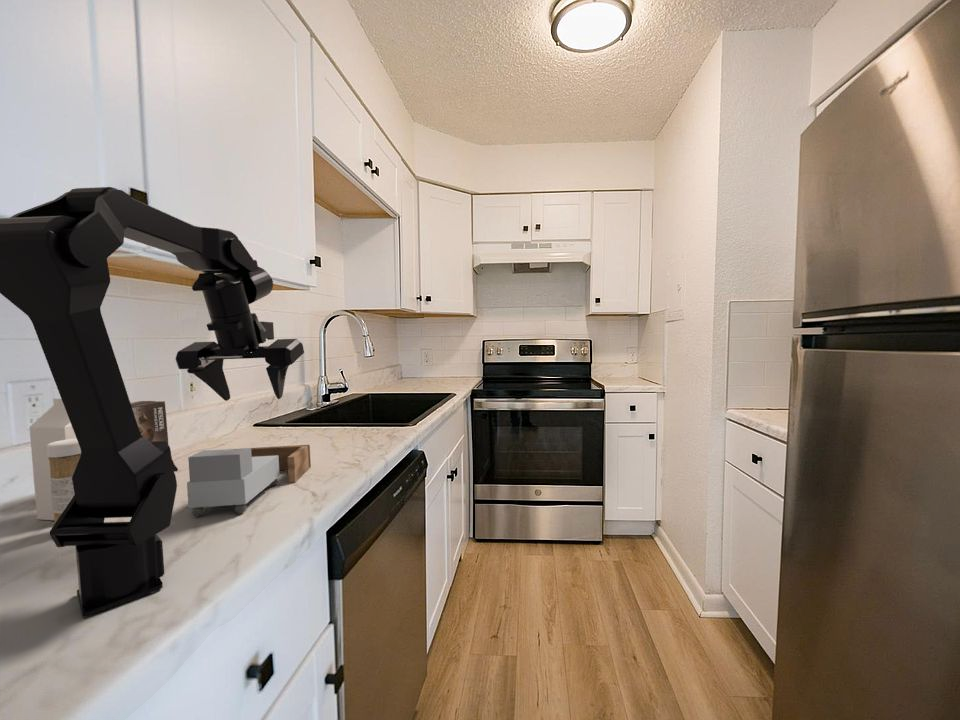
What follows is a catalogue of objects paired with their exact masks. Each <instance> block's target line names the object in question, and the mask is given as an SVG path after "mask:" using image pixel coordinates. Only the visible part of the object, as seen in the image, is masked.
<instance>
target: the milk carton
mask: <svg viewBox="0 0 960 720" xmlns="http://www.w3.org/2000/svg"><path fill="white" fill-rule="evenodd" d="M52 401H53V405H52V406H51V407H50V408H49V409H48V410H46V412H45V413H43V414H42V415H41V416H40V417H39V418H38V419H36V420H35V421H34V422H33V423H32V424H31V425H30V426H29V437H30V448H31V459H32V460H31V461H32V473H33V474H32V475H33V484H34V485H33V486H34V496H35V498H34V499H35V507H36V508H35V510H36V519H37V520H44V521H55V520H54V512H53V505H52V493H51V481H50V477H51V475H50V461H49V459H48V458H49V457H47V445H48V444H49V443H52V442H56V441H61V440H67V439H75V438H76V435H75V433H74V430H73V428H72V425H71V422H70V420H69V417H68V415H67V412H66V409H65V407H64V404H63V402H62V399H61V398H53V399H52Z"/></svg>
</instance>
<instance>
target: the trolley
mask: <svg viewBox="0 0 960 720" xmlns="http://www.w3.org/2000/svg"><path fill="white" fill-rule="evenodd" d="M251 448H252V447H243V448H228V449H227V448H225V449H207V450H201V451H199V452H197V453H195V454H192V455H190V456H188V457H187V458H188V459H187V460H188V472H189V481H188V482H187V483H186V491H187V505H188V507H187V508H188V509H192V510H191V514H192V516H194V517H195V518H199V517H200V516H202V515H203V514H204V513H205V509H204V508H209V507H223V506H235V507H234V512H235V513H236V514H239V515H241V514H243V513H244V512H246V510H247V504H248V503H249V502H250V501H251V500H253V499H254V498H255V497H256V496H257V495H259V494H260V493H261V492H262V491H263V490H265V488H267V487H268V486H273V487H274V486H276V485H277V484H278V482H279V479H278V478H279V477H280V474H281V473H280V471H279V457H278V455H275V456H258V457H252V454H251Z"/></svg>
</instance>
